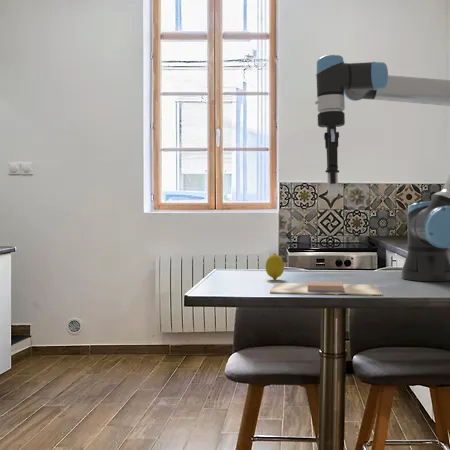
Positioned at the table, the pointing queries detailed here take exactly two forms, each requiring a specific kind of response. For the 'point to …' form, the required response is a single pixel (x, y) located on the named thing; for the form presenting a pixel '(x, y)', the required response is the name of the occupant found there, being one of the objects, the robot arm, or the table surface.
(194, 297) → the table surface
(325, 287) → the tile
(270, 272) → the lemon
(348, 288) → the board
